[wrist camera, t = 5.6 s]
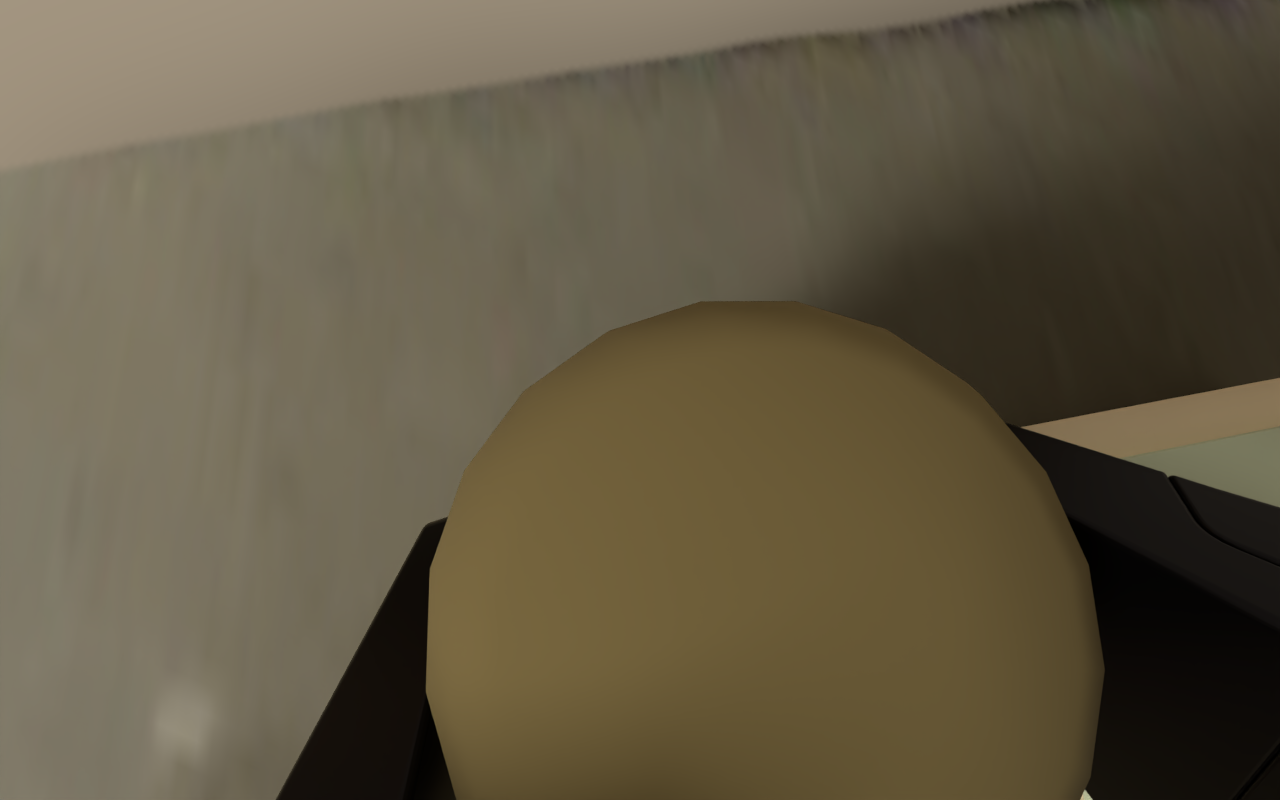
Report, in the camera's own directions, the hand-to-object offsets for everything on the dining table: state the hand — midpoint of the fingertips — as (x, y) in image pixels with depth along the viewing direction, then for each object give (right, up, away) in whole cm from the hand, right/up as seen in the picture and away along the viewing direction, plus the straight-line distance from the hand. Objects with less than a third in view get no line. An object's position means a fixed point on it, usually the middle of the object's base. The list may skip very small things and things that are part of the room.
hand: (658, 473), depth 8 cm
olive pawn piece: (0, -3, +6) cm, 7 cm away
